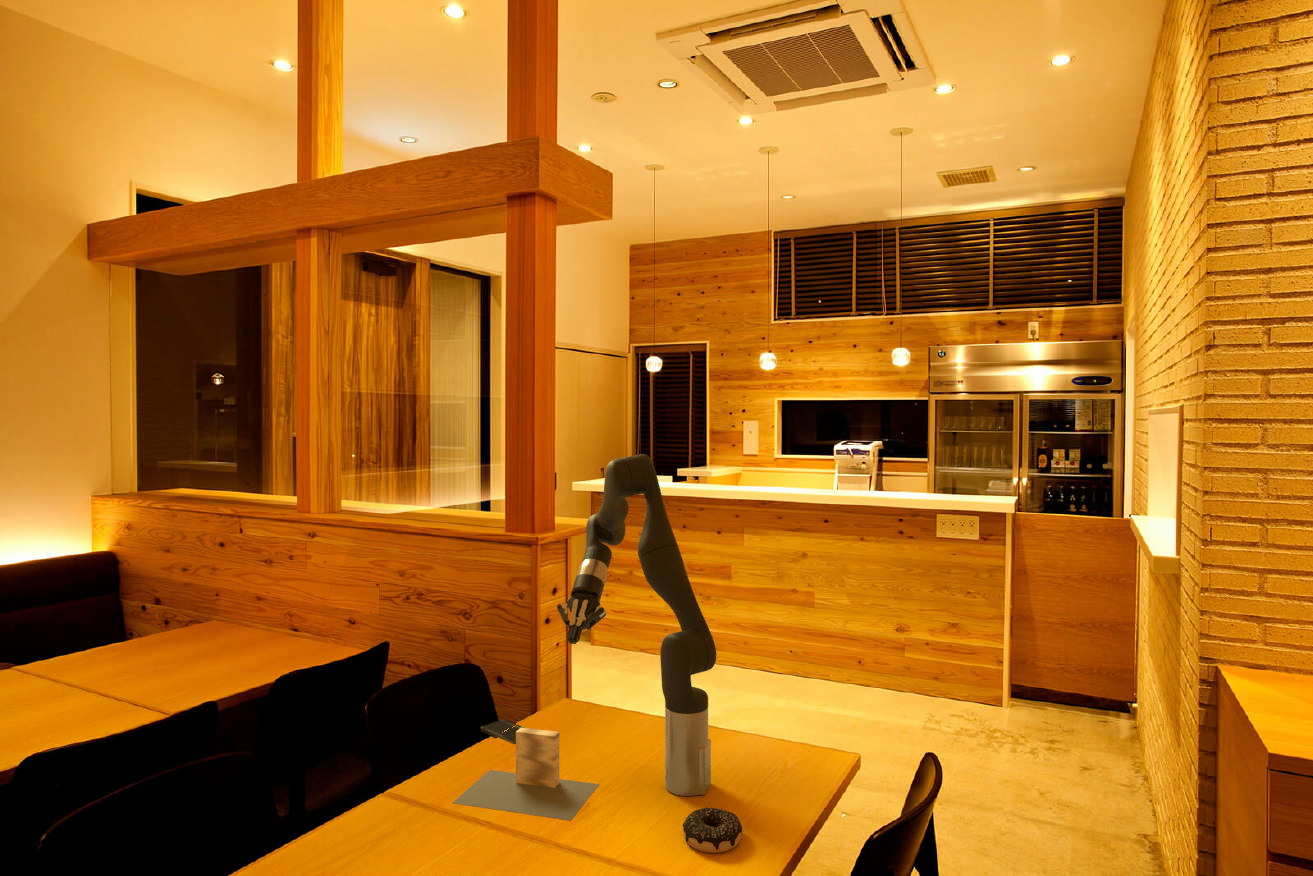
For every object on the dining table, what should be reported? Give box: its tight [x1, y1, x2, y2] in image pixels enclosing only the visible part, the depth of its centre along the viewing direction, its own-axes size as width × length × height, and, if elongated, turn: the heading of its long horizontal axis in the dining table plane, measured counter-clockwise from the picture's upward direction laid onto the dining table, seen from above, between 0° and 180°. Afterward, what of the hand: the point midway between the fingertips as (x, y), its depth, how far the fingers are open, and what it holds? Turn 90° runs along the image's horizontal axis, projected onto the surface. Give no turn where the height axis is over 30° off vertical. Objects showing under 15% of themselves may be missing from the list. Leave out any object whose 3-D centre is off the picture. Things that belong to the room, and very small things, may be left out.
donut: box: [682, 806, 743, 854], centre depth 145 cm, size 11×12×4 cm
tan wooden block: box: [515, 727, 560, 788], centre depth 167 cm, size 9×3×11 cm, turn 74°
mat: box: [451, 769, 600, 822], centre depth 162 cm, size 26×16×1 cm, turn 74°
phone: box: [480, 719, 525, 745], centre depth 196 cm, size 8×1×15 cm
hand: (571, 642), depth 185 cm, fingers closed
